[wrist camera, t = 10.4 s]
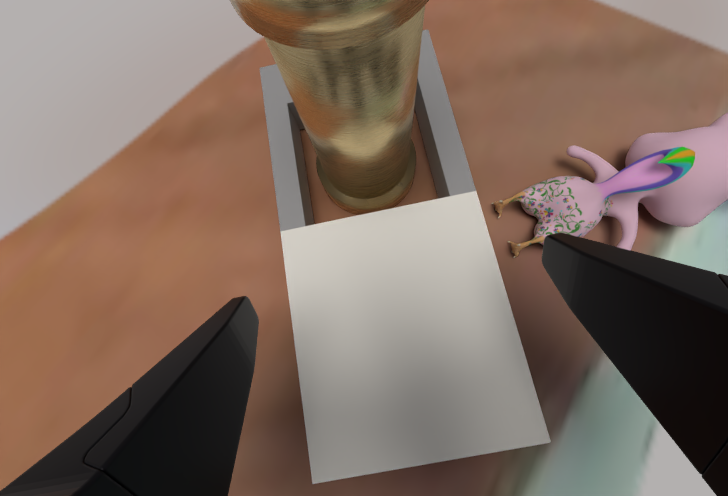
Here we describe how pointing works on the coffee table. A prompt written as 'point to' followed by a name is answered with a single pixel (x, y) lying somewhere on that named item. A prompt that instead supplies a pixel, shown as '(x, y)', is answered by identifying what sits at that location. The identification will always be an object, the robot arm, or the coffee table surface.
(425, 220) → the grey holder base
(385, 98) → the brass fitting
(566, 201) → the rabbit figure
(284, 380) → the coffee table surface
